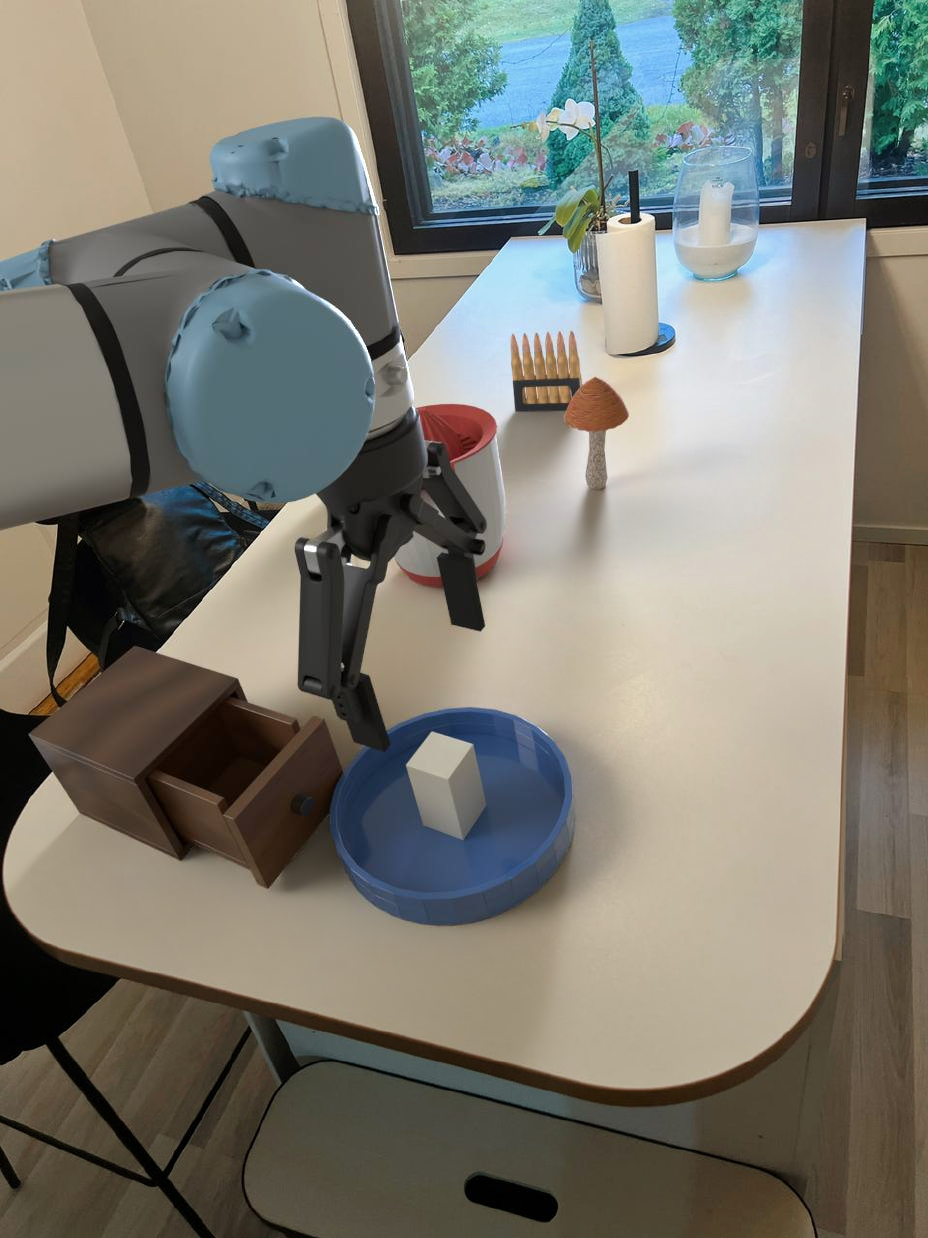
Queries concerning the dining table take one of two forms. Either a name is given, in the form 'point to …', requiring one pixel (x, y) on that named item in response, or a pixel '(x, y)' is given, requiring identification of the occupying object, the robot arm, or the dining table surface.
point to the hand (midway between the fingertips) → (423, 681)
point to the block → (447, 784)
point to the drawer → (249, 786)
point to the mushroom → (596, 423)
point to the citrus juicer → (479, 472)
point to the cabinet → (130, 739)
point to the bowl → (437, 862)
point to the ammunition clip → (539, 379)
